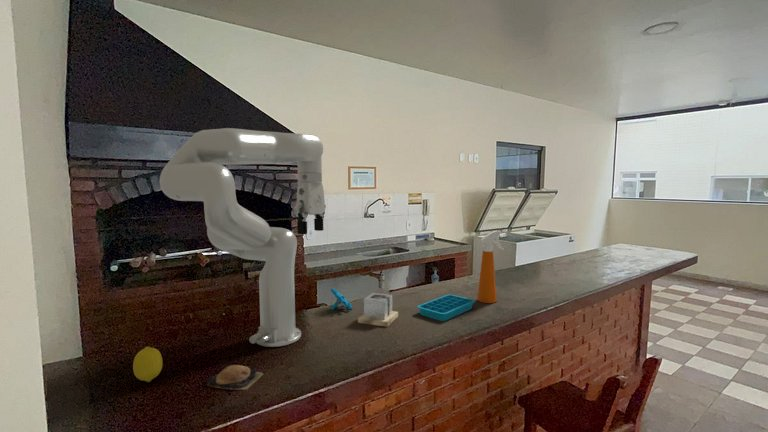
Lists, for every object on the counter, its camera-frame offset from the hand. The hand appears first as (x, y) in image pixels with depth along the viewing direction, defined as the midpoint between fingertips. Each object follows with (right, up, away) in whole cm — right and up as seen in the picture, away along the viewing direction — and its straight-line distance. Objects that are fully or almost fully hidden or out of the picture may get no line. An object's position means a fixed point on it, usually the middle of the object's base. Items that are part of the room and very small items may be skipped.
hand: (310, 232), depth 121 cm
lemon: (-29, -32, -38) cm, 57 cm away
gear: (+9, -28, +11) cm, 31 cm away
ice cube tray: (+45, -28, +8) cm, 54 cm away
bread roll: (-10, -32, -37) cm, 50 cm away
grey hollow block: (+22, -27, 0) cm, 35 cm away
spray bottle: (+64, -27, +20) cm, 72 cm away
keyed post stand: (+22, -28, 0) cm, 36 cm away
